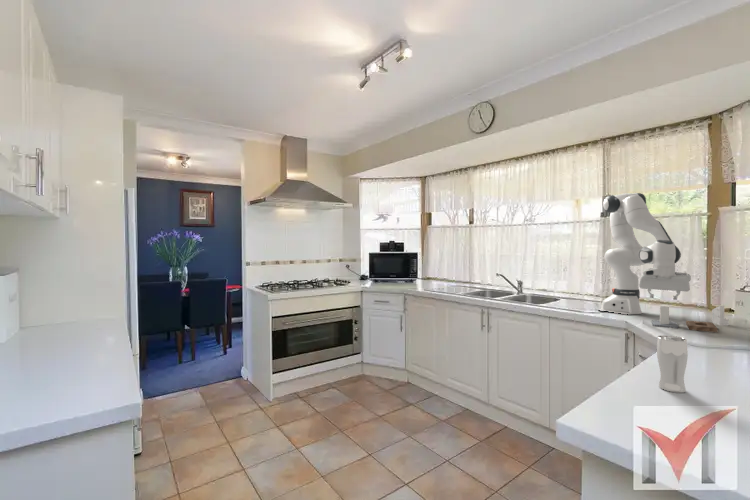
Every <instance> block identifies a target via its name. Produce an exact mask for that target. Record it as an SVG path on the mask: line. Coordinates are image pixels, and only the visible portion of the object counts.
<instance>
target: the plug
mask: <svg viewBox="0 0 750 500" xmlns="http://www.w3.org/2000/svg"><path fill="white" fill-rule="evenodd" d="M659 321H660V324H668V325H669V322H670V306H669V305H668V304H659Z"/></svg>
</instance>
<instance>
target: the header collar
mask: <svg viewBox="0 0 750 500" xmlns="http://www.w3.org/2000/svg"><path fill="white" fill-rule="evenodd" d="M685 325H686V327H687V328H688V330H690V331H697V332H698V331H699V332H709V333H710V332H711V333H718V327H717V325H716V324H714V323H712V321H710V322H709V321H700V320H699V321H698V320H688V319H687V320H685Z"/></svg>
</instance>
